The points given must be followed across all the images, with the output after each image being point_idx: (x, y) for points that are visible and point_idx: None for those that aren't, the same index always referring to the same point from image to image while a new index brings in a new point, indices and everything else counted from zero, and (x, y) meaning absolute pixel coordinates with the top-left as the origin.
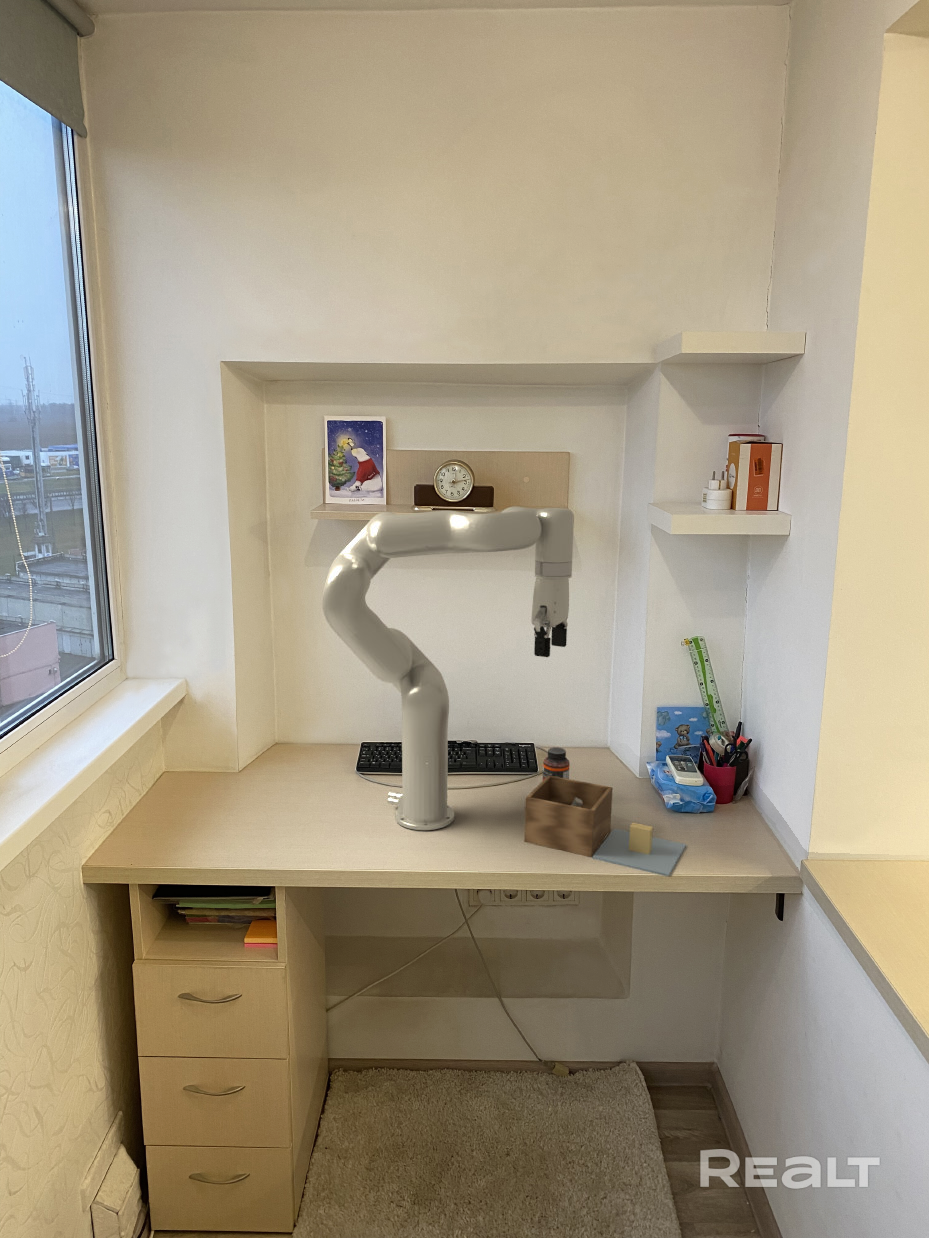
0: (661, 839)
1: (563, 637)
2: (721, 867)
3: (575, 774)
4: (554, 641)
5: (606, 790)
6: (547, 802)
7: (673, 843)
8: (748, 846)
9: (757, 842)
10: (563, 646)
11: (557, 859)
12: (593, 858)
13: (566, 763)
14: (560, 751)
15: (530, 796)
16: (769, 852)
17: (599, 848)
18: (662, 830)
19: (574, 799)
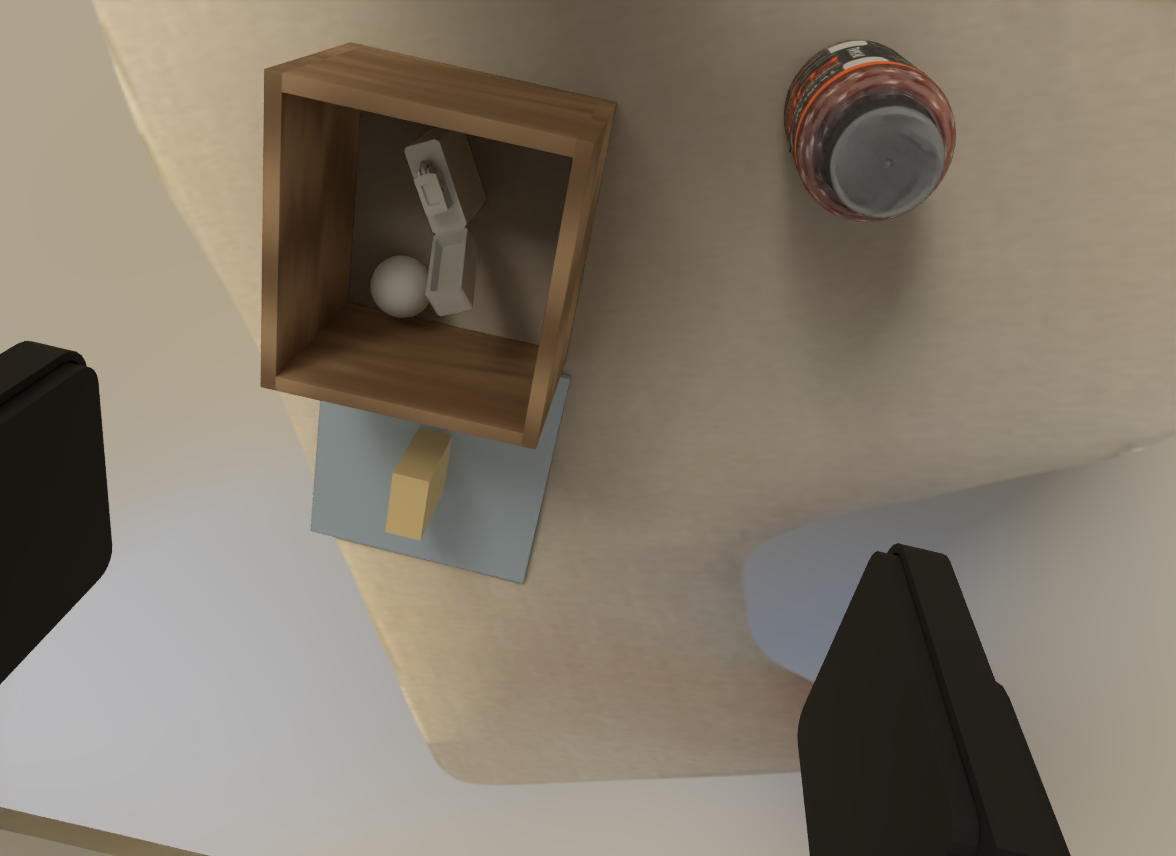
0: (532, 521)
1: (823, 845)
2: (424, 649)
3: (1164, 174)
4: (874, 636)
5: (492, 427)
6: (263, 187)
7: (515, 552)
8: (577, 721)
9: (610, 743)
10: (805, 711)
11: None
12: None
13: (836, 211)
14: (868, 187)
15: (289, 92)
16: (556, 758)
17: None
18: (616, 523)
19: (460, 280)
